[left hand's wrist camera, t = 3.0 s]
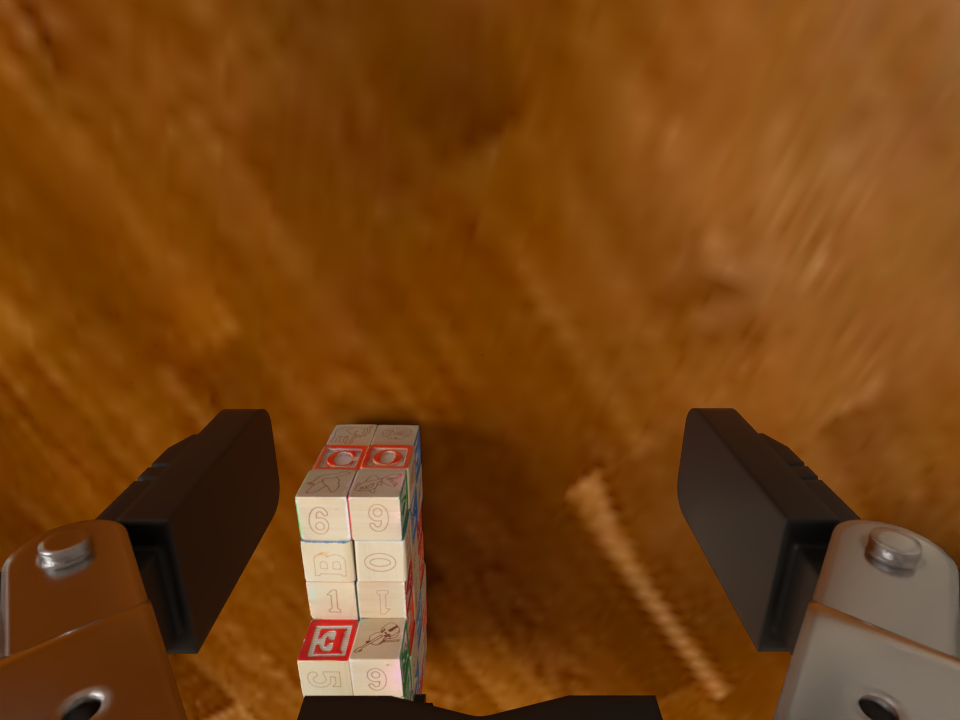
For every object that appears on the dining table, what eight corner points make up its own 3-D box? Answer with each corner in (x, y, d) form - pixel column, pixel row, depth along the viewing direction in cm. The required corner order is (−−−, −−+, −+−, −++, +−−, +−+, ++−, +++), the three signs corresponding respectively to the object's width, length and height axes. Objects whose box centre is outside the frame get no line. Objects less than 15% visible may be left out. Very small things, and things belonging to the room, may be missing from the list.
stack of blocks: (333, 421, 42) (275, 528, 30) (420, 422, 42) (396, 529, 30) (355, 648, 49) (314, 802, 38) (428, 649, 49) (411, 804, 38)
